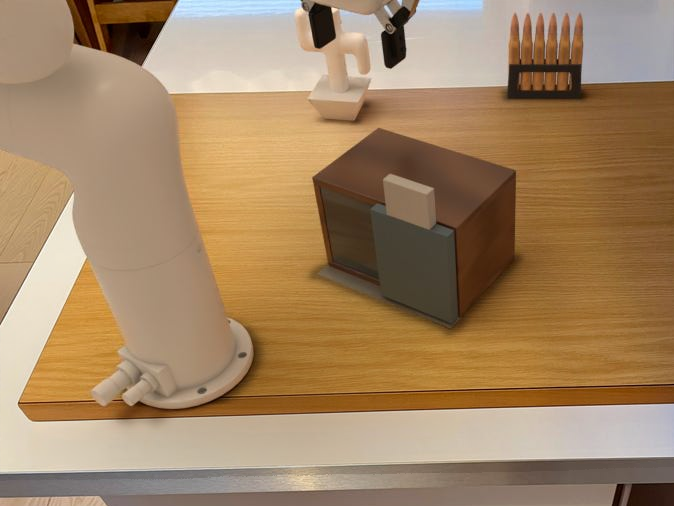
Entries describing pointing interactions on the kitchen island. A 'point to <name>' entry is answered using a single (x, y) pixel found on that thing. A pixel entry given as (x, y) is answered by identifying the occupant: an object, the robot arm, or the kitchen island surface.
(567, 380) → the kitchen island surface
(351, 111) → the figurine
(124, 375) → the robot arm
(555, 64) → the ammunition clip
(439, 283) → the grey sliding door
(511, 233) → the cabinet
